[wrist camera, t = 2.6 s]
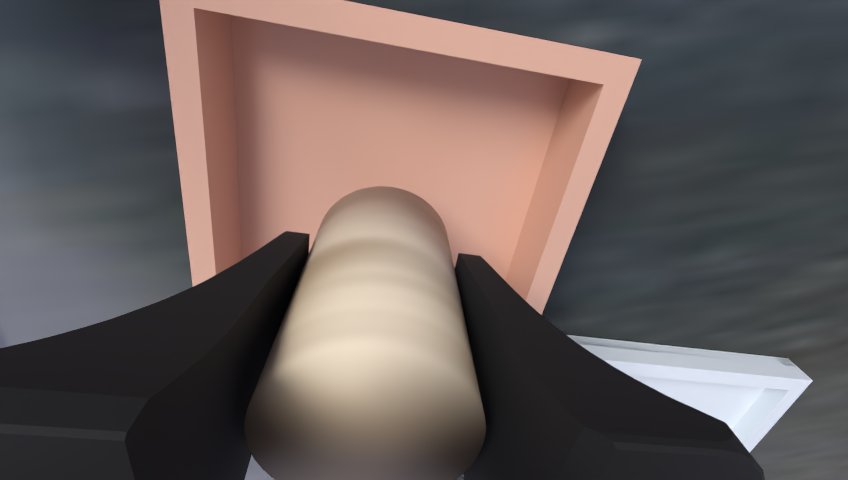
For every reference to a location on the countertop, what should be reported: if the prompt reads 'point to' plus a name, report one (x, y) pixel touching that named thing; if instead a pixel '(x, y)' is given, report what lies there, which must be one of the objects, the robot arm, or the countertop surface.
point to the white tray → (711, 381)
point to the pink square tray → (384, 127)
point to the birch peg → (371, 354)
